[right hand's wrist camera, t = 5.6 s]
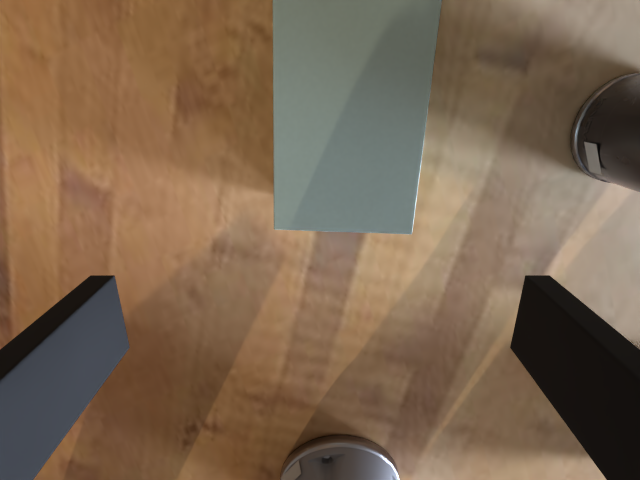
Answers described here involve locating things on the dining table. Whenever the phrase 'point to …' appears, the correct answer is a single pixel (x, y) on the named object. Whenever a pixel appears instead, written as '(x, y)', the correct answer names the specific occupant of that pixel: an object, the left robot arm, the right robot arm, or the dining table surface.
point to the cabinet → (350, 112)
